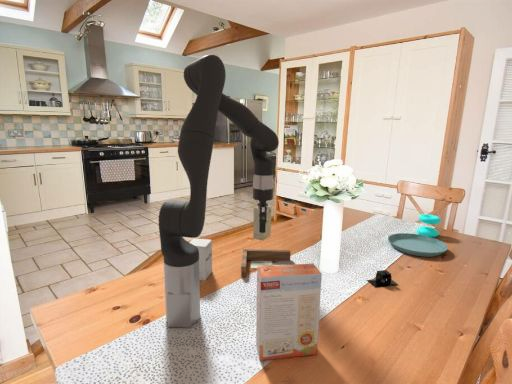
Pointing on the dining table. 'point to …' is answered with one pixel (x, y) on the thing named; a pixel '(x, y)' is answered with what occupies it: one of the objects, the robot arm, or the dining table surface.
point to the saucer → (417, 244)
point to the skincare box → (256, 224)
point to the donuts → (428, 230)
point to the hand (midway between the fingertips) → (262, 228)
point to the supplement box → (204, 256)
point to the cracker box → (287, 310)
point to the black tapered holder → (382, 280)
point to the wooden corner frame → (262, 258)
